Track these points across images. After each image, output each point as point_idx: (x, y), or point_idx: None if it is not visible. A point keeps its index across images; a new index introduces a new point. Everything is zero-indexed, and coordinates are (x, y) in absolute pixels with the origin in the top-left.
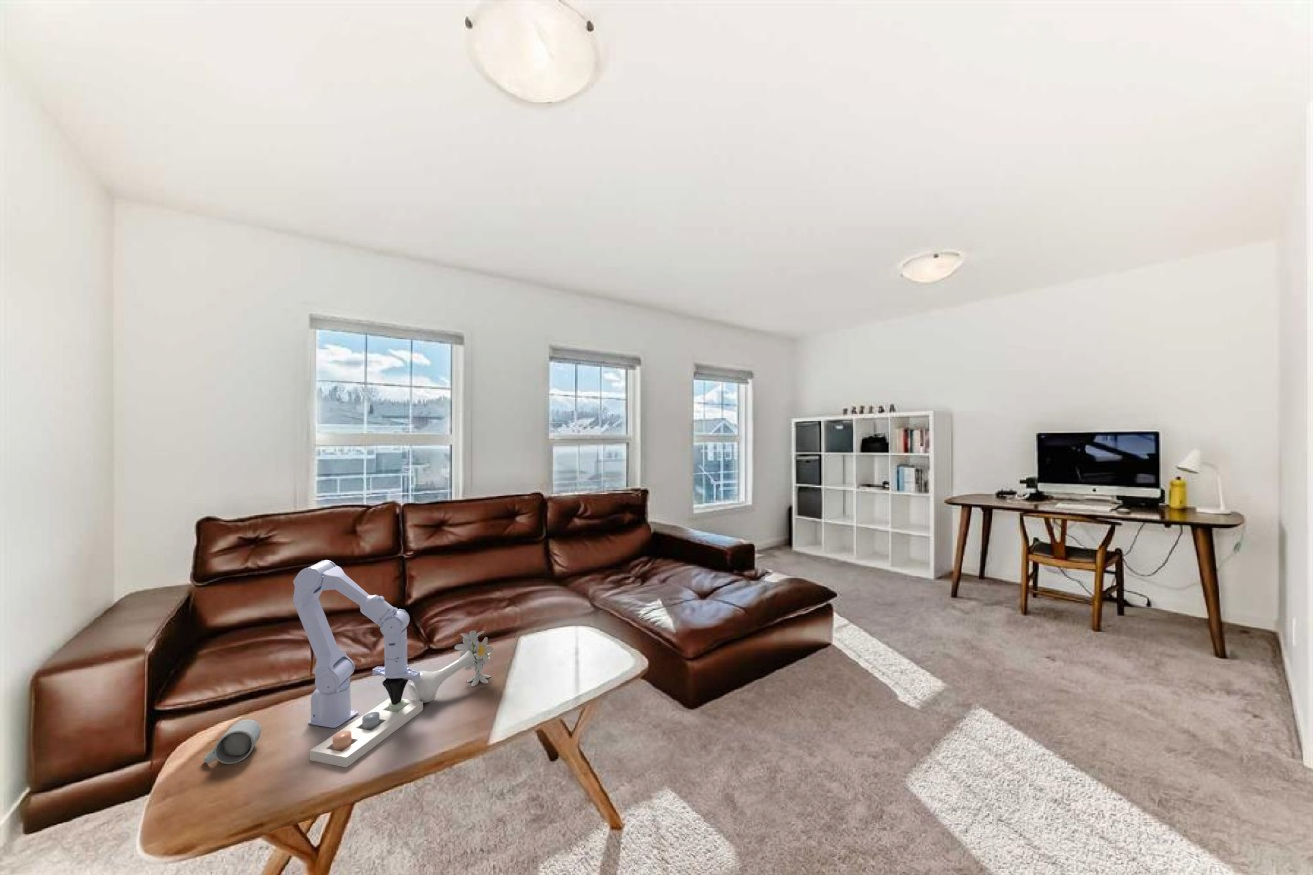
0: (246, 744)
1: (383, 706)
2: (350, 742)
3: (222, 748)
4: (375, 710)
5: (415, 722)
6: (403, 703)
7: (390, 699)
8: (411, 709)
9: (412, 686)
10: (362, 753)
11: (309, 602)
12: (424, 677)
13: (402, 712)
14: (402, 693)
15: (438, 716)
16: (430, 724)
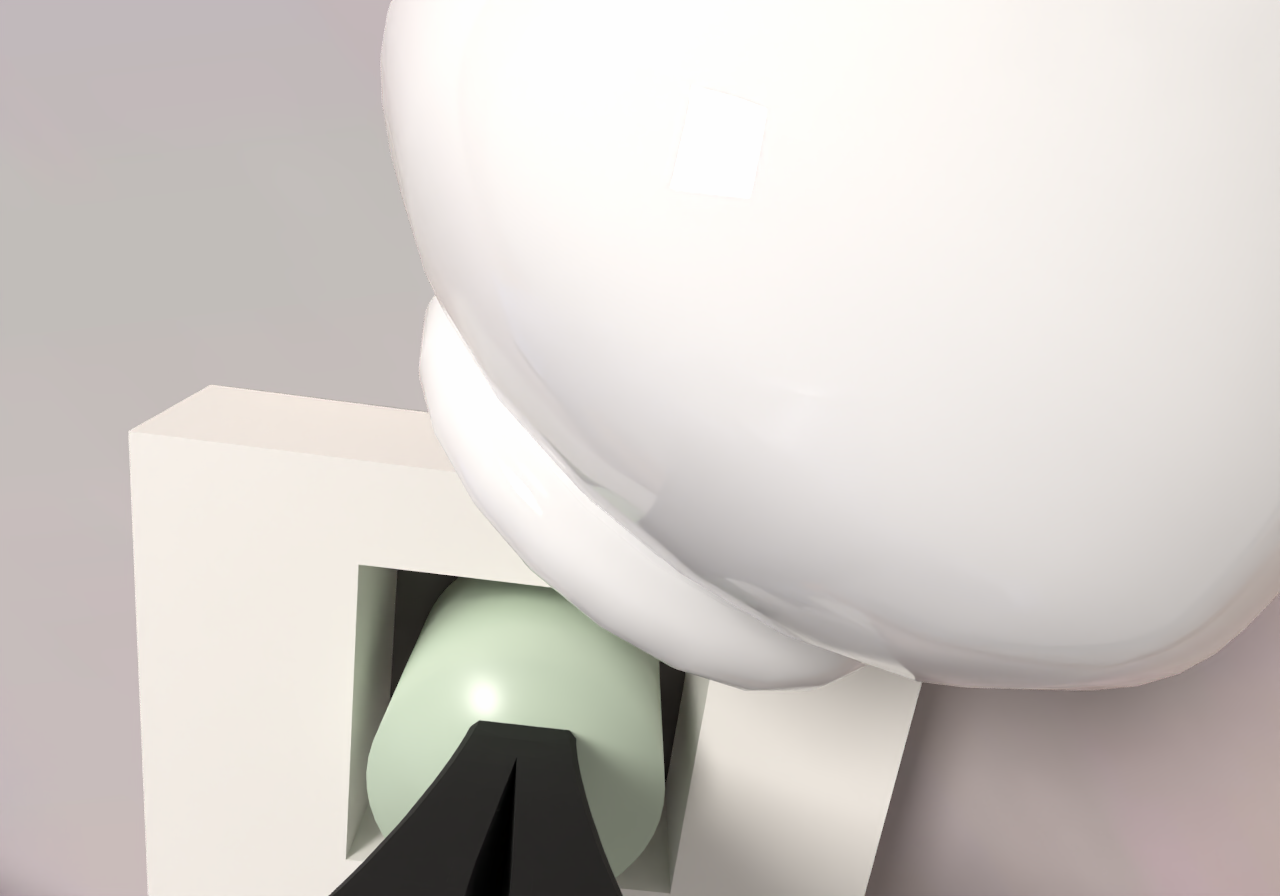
0: None
1: (274, 765)
2: None
3: None
4: (234, 879)
5: (968, 791)
6: (661, 757)
7: (202, 528)
8: (879, 796)
9: (751, 689)
10: None
11: None
12: (1208, 621)
13: (768, 887)
14: (592, 835)
15: (1269, 617)
16: (1221, 810)
